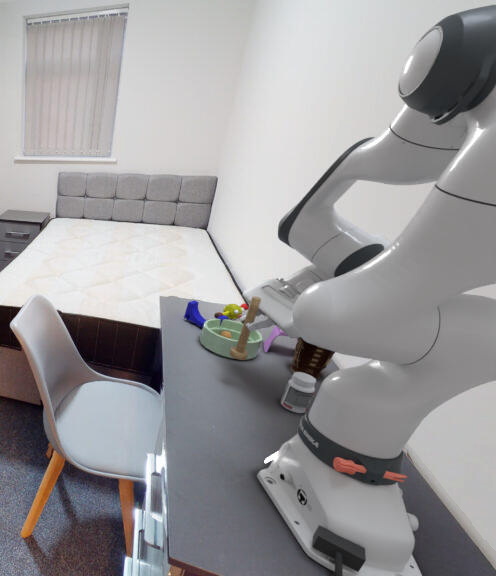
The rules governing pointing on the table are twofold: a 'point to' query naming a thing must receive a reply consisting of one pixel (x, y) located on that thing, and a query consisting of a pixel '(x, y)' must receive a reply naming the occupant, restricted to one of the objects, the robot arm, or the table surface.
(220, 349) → the bowl
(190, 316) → the blue curved piece
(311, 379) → the pill bottle
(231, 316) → the toy figure
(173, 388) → the table surface
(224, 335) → the ball
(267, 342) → the toy chair
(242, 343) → the stirring stick
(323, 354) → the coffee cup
